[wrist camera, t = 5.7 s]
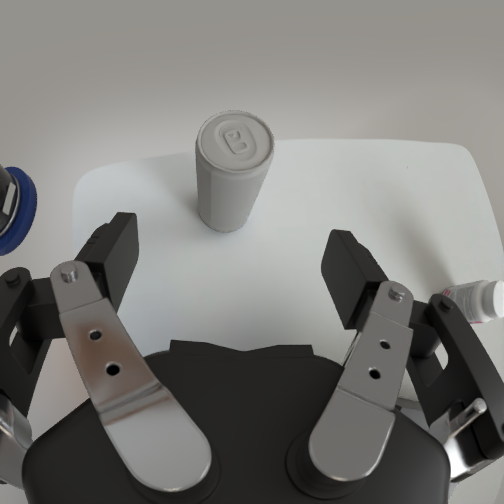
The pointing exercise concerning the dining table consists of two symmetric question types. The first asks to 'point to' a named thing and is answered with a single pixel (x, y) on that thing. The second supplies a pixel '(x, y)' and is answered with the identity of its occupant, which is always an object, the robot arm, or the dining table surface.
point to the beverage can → (231, 167)
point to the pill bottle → (479, 300)
